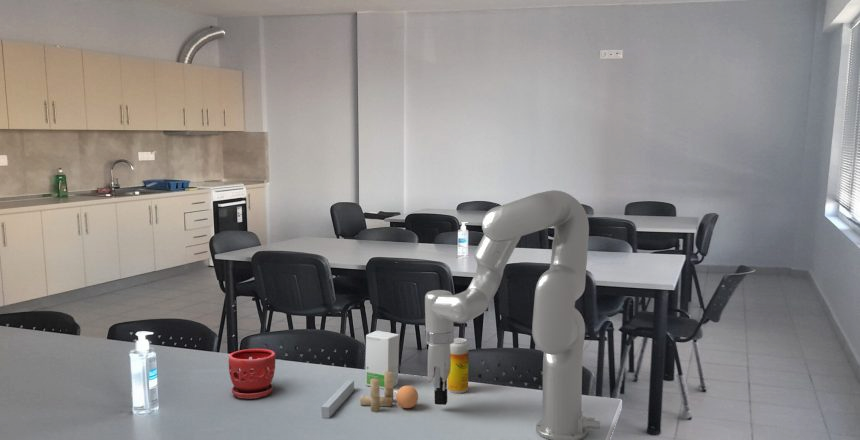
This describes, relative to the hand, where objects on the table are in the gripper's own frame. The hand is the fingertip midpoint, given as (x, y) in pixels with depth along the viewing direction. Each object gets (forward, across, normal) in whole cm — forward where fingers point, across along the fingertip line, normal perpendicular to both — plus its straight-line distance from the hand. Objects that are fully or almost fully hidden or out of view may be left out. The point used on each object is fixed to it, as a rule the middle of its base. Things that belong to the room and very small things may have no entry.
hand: (441, 403), depth 188 cm
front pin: (+1, -1, -14) cm, 14 cm away
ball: (-1, 0, -9) cm, 9 cm away
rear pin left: (+2, +3, -18) cm, 18 cm away
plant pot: (+1, -3, -56) cm, 56 cm away
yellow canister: (+2, -16, +2) cm, 16 cm away
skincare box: (+2, -17, -21) cm, 27 cm away
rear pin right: (+2, -4, -16) cm, 16 cm away
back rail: (+1, 0, -29) cm, 29 cm away
